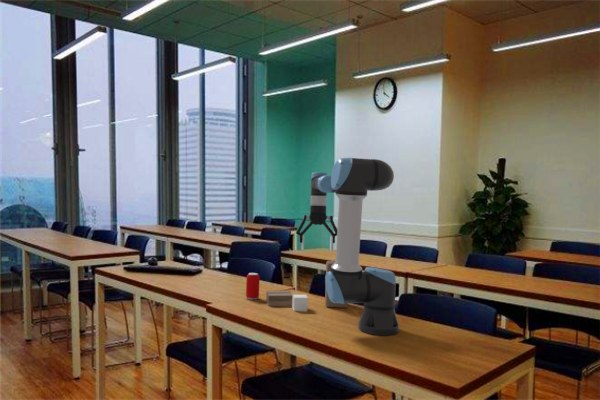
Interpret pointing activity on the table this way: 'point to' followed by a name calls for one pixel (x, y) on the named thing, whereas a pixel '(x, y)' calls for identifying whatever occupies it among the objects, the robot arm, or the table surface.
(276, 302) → the walnut block
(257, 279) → the beverage can
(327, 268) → the wooden block
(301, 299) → the cream cube
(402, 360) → the table surface
